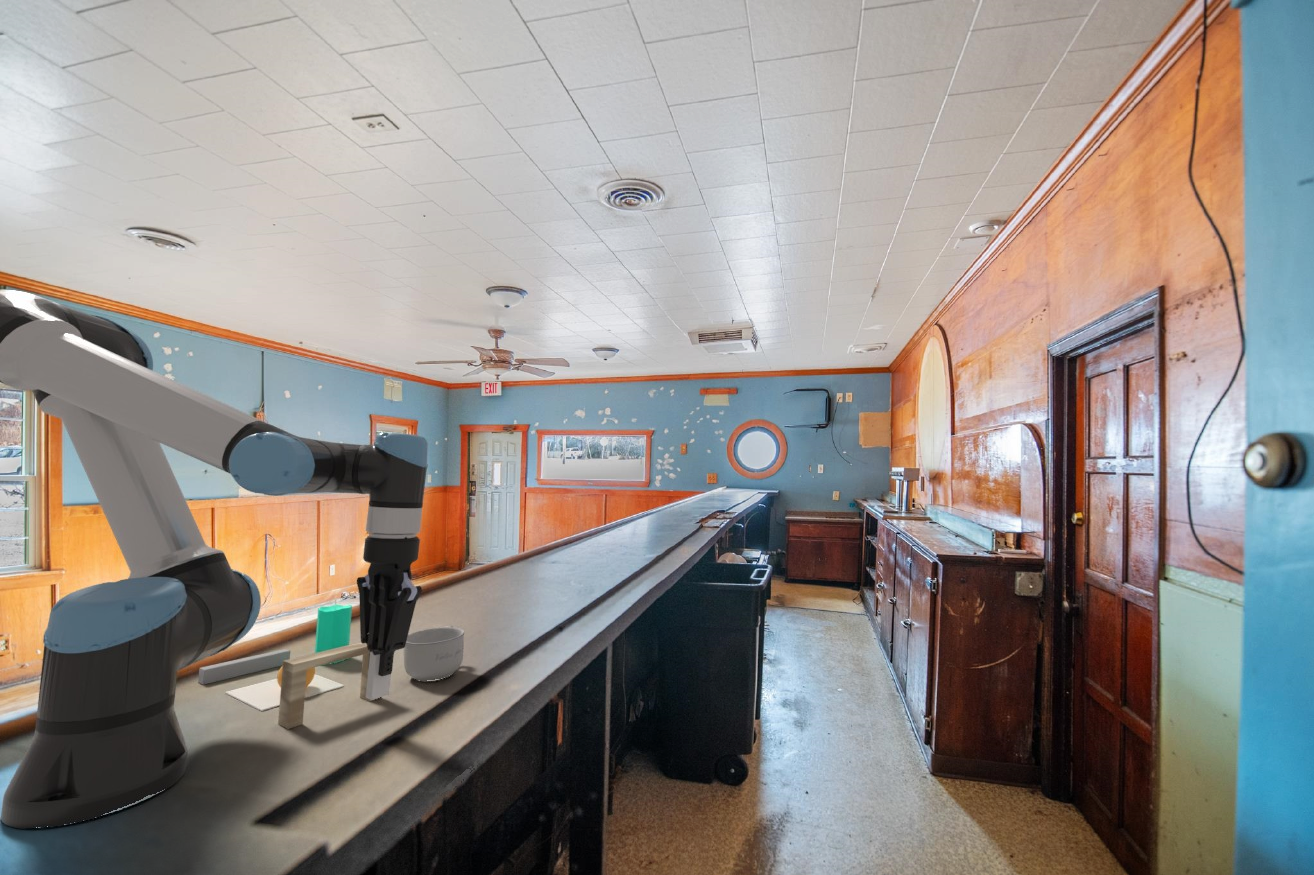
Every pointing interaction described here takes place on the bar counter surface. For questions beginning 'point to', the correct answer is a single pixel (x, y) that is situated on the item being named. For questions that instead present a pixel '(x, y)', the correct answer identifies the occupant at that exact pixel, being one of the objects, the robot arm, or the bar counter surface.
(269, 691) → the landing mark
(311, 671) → the ball
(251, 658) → the stopper
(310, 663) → the bridge
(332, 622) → the candle
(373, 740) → the bar counter surface
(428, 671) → the teacup
